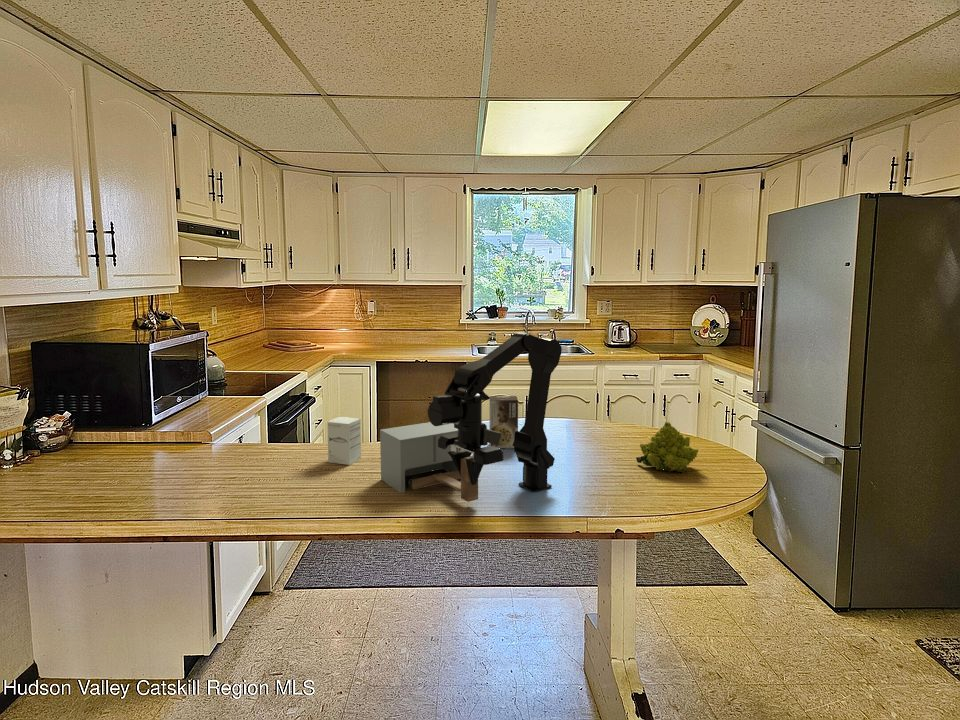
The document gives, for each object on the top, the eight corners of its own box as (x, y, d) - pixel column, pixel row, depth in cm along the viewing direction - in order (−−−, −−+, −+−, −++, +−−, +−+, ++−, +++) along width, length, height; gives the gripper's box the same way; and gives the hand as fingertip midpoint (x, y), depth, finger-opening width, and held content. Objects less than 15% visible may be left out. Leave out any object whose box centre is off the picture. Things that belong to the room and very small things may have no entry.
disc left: (428, 487, 163) (428, 481, 163) (413, 490, 161) (413, 484, 161) (420, 482, 167) (420, 477, 167) (405, 485, 164) (405, 480, 164)
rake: (498, 494, 153) (498, 454, 151) (446, 507, 144) (446, 465, 143) (461, 477, 166) (460, 440, 165) (412, 488, 157) (411, 449, 156)
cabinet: (466, 478, 169) (466, 429, 167) (401, 493, 158) (400, 440, 156) (444, 466, 179) (444, 419, 177) (381, 479, 168) (380, 429, 166)
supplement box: (327, 463, 182) (326, 421, 180) (340, 456, 189) (339, 415, 187) (349, 465, 180) (348, 423, 178) (362, 458, 187) (361, 417, 185)
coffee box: (516, 443, 204) (517, 395, 202) (518, 448, 198) (519, 399, 195) (488, 443, 204) (489, 395, 201) (489, 449, 197) (490, 399, 195)
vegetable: (622, 452, 182) (652, 410, 180) (654, 472, 189) (683, 433, 188) (652, 477, 169) (684, 432, 167) (686, 497, 176) (717, 455, 175)
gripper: (521, 422, 145) (520, 486, 147) (472, 407, 159) (471, 466, 161) (484, 429, 138) (484, 496, 140) (436, 414, 152) (436, 475, 154)
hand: (469, 482), depth 149 cm, fingers closed on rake, 3 cm apart
